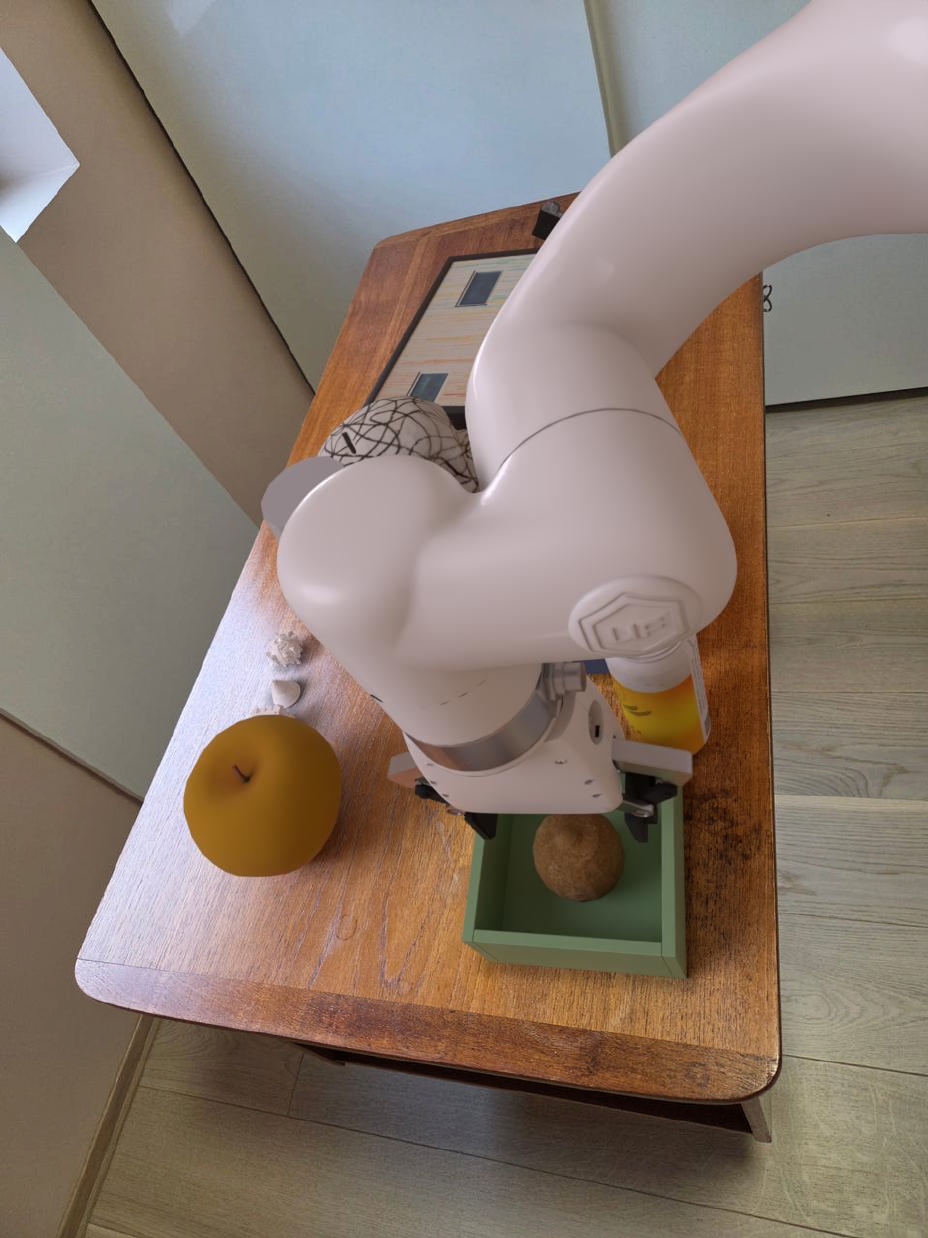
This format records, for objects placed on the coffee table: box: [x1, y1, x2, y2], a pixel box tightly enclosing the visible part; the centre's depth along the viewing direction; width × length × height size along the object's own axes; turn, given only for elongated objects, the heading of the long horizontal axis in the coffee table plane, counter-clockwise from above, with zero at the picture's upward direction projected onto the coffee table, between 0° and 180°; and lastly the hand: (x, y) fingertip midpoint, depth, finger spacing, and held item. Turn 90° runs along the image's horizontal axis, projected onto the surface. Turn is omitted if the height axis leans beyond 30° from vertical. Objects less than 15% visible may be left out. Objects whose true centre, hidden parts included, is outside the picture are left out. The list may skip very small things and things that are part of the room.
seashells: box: [250, 629, 304, 718], centre depth 75 cm, size 12×3×3 cm, turn 0°
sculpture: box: [315, 396, 481, 493], centre depth 77 cm, size 15×20×15 cm
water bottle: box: [260, 456, 345, 543], centre depth 63 cm, size 9×8×25 cm
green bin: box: [461, 747, 687, 979], centre depth 54 cm, size 14×14×7 cm
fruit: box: [533, 813, 625, 903], centre depth 53 cm, size 6×6×8 cm
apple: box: [182, 714, 344, 878], centre depth 63 cm, size 13×13×11 cm
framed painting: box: [360, 246, 542, 431], centre depth 93 cm, size 30×4×30 cm
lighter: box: [531, 199, 566, 242], centre depth 104 cm, size 8×2×5 cm
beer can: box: [605, 633, 712, 756], centre depth 55 cm, size 6×6×15 cm
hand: (565, 817), depth 49 cm, fingers open, 9 cm apart
